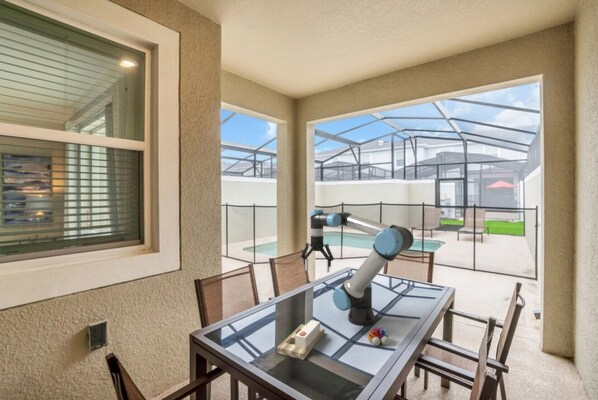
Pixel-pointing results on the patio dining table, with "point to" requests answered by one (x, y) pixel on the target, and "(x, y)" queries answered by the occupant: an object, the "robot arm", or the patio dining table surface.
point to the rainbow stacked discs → (378, 336)
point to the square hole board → (290, 350)
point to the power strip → (307, 334)
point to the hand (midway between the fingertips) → (317, 271)
